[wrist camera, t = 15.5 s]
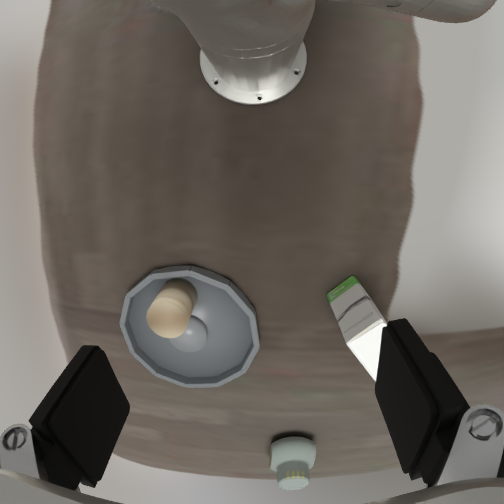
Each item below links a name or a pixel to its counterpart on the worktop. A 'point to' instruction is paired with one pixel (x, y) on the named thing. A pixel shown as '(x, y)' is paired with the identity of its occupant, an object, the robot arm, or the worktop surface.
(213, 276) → the ring tray
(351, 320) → the ink box
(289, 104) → the worktop surface
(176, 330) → the beige cylinder
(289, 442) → the air freshener
